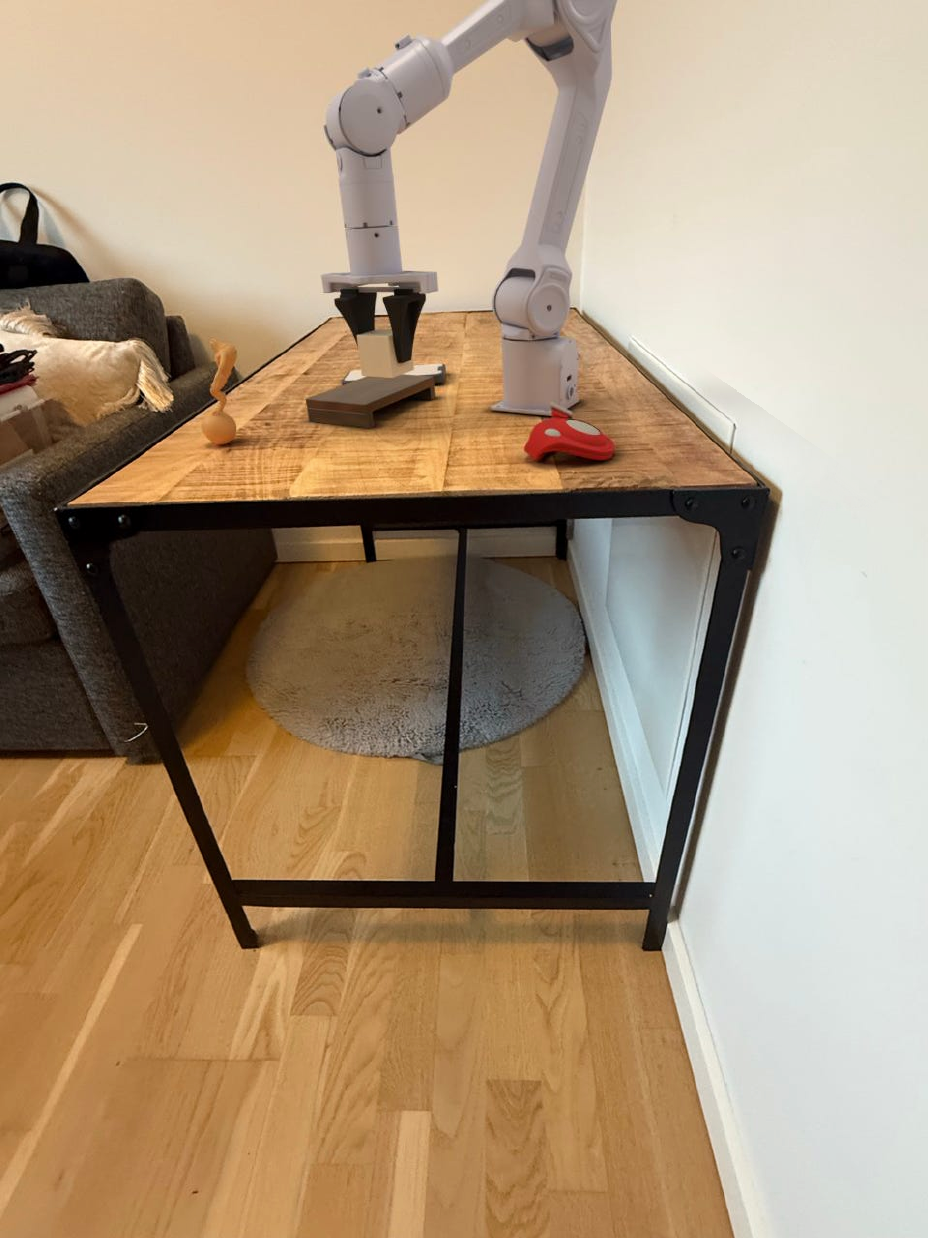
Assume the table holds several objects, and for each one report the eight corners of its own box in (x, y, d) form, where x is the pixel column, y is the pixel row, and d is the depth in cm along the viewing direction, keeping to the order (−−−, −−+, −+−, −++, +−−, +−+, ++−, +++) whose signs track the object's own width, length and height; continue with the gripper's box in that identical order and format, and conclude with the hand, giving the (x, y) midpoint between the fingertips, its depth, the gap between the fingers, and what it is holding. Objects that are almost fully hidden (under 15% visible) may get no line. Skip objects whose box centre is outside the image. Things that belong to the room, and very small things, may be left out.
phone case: (341, 392, 104) (444, 384, 103) (340, 381, 103) (443, 373, 102) (350, 379, 111) (446, 372, 110) (348, 369, 110) (445, 362, 110)
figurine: (213, 435, 86) (187, 335, 80) (260, 431, 87) (239, 331, 80) (199, 455, 79) (171, 347, 73) (251, 450, 80) (227, 343, 73)
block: (414, 369, 80) (410, 329, 78) (392, 378, 77) (388, 336, 75) (383, 367, 82) (379, 328, 80) (361, 375, 79) (356, 335, 77)
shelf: (435, 397, 97) (434, 376, 95) (368, 428, 85) (365, 404, 83) (379, 393, 101) (377, 372, 99) (309, 421, 90) (305, 398, 88)
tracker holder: (637, 443, 70) (568, 440, 65) (620, 481, 73) (552, 481, 67) (568, 396, 78) (500, 389, 72) (554, 431, 80) (488, 428, 75)
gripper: (295, 232, 72) (317, 364, 79) (407, 226, 66) (419, 370, 73) (336, 228, 77) (353, 352, 84) (444, 222, 71) (452, 357, 78)
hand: (386, 360), depth 79 cm, fingers closed on block, 4 cm apart
